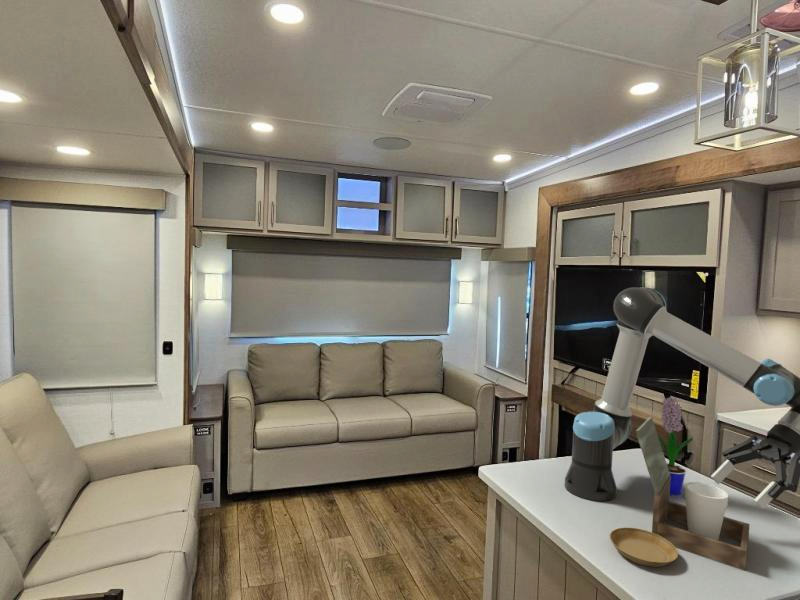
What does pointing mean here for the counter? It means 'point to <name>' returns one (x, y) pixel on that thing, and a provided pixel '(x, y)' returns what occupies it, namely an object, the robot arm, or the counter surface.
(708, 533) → the foam cup
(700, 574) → the counter surface
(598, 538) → the counter surface
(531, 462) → the counter surface
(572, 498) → the counter surface
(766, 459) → the robot arm
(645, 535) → the plant saucer
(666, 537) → the cold frame
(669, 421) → the hyacinth
